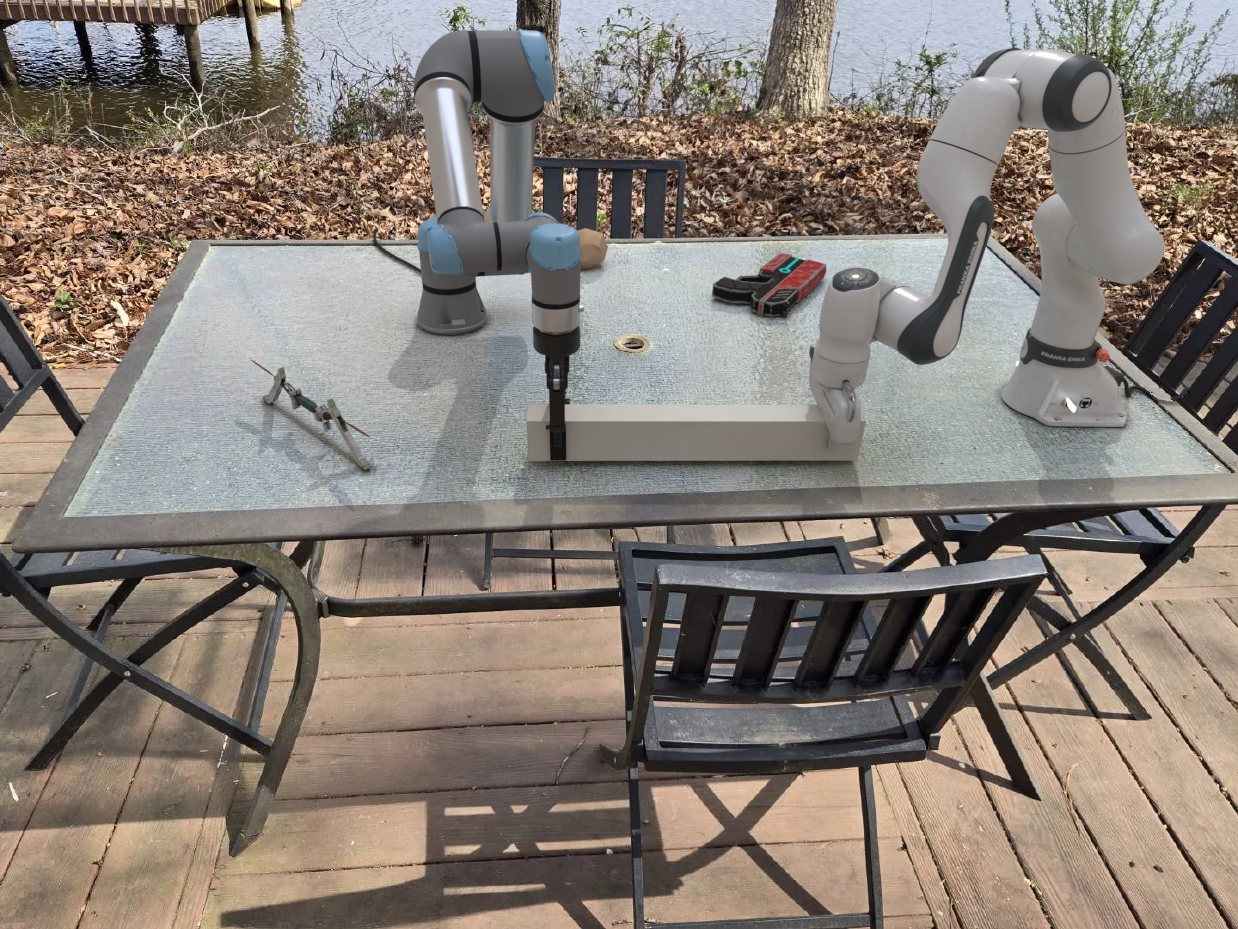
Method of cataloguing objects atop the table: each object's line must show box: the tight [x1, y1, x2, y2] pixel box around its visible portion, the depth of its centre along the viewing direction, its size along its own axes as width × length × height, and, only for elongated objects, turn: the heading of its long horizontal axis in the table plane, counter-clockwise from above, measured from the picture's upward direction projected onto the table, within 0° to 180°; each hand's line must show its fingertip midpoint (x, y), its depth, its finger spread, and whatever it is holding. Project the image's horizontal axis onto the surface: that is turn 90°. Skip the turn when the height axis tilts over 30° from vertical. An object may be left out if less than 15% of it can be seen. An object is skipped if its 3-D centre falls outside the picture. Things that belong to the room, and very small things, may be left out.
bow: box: [250, 359, 373, 471], centre depth 154 cm, size 39×2×10 cm, turn 47°
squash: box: [577, 227, 609, 270], centre depth 226 cm, size 11×20×9 cm, turn 90°
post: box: [526, 403, 867, 462], centre depth 150 cm, size 57×6×8 cm, turn 92°
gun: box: [711, 252, 827, 318], centre depth 215 cm, size 4×31×19 cm
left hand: (558, 448), depth 151 cm, fingers closed on post, 6 cm apart
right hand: (827, 438), depth 152 cm, fingers closed on post, 5 cm apart
